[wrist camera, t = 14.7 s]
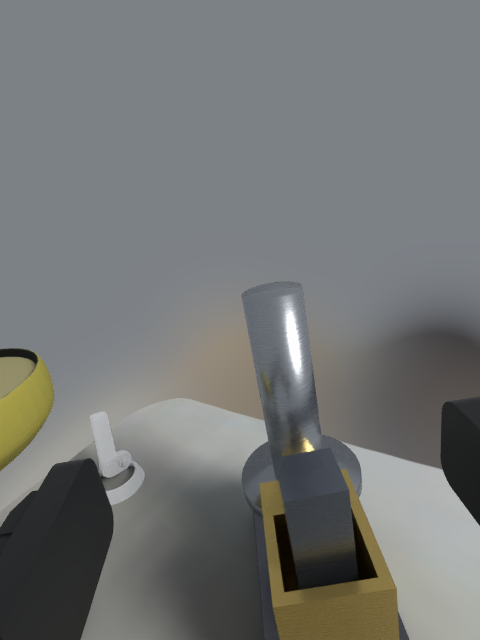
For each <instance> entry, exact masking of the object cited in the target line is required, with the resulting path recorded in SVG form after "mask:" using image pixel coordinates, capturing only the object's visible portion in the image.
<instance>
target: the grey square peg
mask: <svg viewBox="0 0 480 640" xmlns="http://www.w3.org/2000/svg"><path fill="white" fill-rule="evenodd" d="M274 459H275V464H276V470H277V475H278V481H279V486H280V492H281V497H282V503H283V508H284V514H285V519H286V525H287V530H288V536H289V541H290V547H291V552H292V558H293V563H294V569H295V574H296V580H297V585H298V590H303V589H309V588H316V587H322V586H328V585H335V584H341V583H347V582H354V581H359V578H358V569H357V559H356V550H355V540H354V531H353V521H352V512H351V502H350V493H349V488H348V486H347V484H346V482H345V479H344V477H343V475H342V472H341V470H340V468H339V466H338V463H337V461H336V459H335V456H334V454H333V452H332V450H331V448H325V449H320V450H315V451H309V452H304V453H299V454H293V455H288V456H282V457H277V458H274Z"/></svg>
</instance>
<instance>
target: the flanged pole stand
mask: <svg viewBox="0 0 480 640" xmlns="http://www.w3.org/2000/svg"><path fill="white" fill-rule="evenodd" d="M242 301H243V306H244V312H245V317H246V323H247V328H248V333H249V339H250V344H251V350H252V355H253V361H254V366H255V371H256V377H257V382H258V387H259V393H260V398H261V404H262V409H263V415H264V420H265V425H266V431H267V436H268V442H266V443H264V444H263V445H261V446H260V447H259V448H257V449H256V450H255V451H254V452H253V453H252V454H251V455H250V457H249V458H248V460H247V461H246V463H245V465H244V468H243V472H242V483H243V488H244V493H245V497H246V500H247V502H248V504H249V506H250V507H251V508H252V510H253V511H254V521H255V533H256V546H257V558H258V570H259V583H260V595H261V607H262V619H263V632H264V640H409V638H408V635H407V633H406V630H405V628H404V625H403V623H402V620H401V618H400V615H399V613H398V607H397V590H396V586H395V584H394V581H393V579H392V577H391V574H390V572H389V569H388V567H387V565H386V562H385V560H384V558H383V555H382V553H381V550H380V548H379V546H378V543H377V541H376V539H375V536H374V534H373V531H372V529H371V527H370V524H369V522H368V520H367V517H366V515H365V512H364V510H363V508H362V505H361V503H360V501H359V497H360V494H361V490H362V476H361V468H360V464H359V461H358V459H357V457H356V456H355V454H354V453H353V452H352V451H351V450H350V449H349V448H348V447H347V446H346V445H344V444H343V443H342V442H340V441H338V440H336V439H334V438H331V437H328V436H325V435H321V428H320V420H319V412H318V404H317V396H316V388H315V381H314V374H313V365H312V357H311V350H310V342H309V334H308V326H307V318H306V311H305V303H304V295H303V288H302V285H301V284H299V283H295V282H275V283H268V284H263V285H260V286H256V287H253V288H251V289H249V290H247V291H245V292H244V293H243V294H242ZM325 448H331V450H332V452H333V454H334V456H335V459H336V461H337V463H338V466H339V468H340V470H341V472H342V475H343V477H344V479H345V482H346V484H347V486H348V488H349V493H350V502H351V512H352V521H353V531H354V540H355V550H356V559H357V569H358V578H359V581H354V582H347V583H341V584H335V585H328V586H322V587H316V588H309V589H303V590H298V585H297V580H296V574H295V569H294V563H293V558H292V552H291V547H290V541H289V536H288V530H287V525H286V519H285V514H284V508H283V503H282V497H281V492H280V486H279V481H278V475H277V470H276V464H275V459H274V458H277V457H282V456H288V455H293V454H299V453H304V452H309V451H315V450H320V449H325Z"/></svg>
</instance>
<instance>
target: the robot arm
mask: <svg viewBox="0 0 480 640" xmlns="http://www.w3.org/2000/svg"><path fill="white" fill-rule="evenodd" d="M441 464H442V468H443V471H444V474H445V477H446V479H447V481H448V483H449V485H450V486H451V488H452V489H453V490H454V492H455V493H456V494H457V496H458V497H459V498H460V500H461V501H462V502H463V504H464V505H465V507H466V508H467V509H468V511H469V512H470V513H471V515H472V516H473V517H474V519H475V520H476V521H477V523H478V524H479V525H480V397H474V398H468V399H461V400H455V401H450V402H446V403H445V404H444V405H443V408H442V423H441ZM112 534H113V512H112V508H111V505H110V502H109V499H108V497H107V494H106V491H105V488H104V486H103V483H102V480H101V477H100V475H99V472H98V469H97V466H96V464H95V462H94V461H93V460H92V459H90V458H88V459H82V460H76V461H69V462H63V463H57V464H55V465H54V466H53V467H52V468H51V470H50V471H49V473H48V475H47V476H46V478H45V480H44V481H43V483H42V485H41V486H40V488H39V490H37V491H32V492H31V493H30V494H29V495H27V496H26V497H25V498H24V499H23V500H22V501H21V502H20V503H19V504H18V505H17V506H16V507H15V508H14V509H13V510H12V511H11V512H10V513H9V515H8V516H7V518H6V519H5V521H4V523H3V524H2V526H1V527H0V640H80V639H81V636H82V632H83V629H84V626H85V623H86V620H87V616H88V613H89V610H90V607H91V604H92V600H93V597H94V594H95V591H96V587H97V584H98V581H99V578H100V575H101V571H102V568H103V565H104V562H105V558H106V555H107V552H108V549H109V546H110V542H111V539H112Z"/></svg>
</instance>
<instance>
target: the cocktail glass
mask: <svg viewBox="0 0 480 640" xmlns="http://www.w3.org/2000/svg"><path fill="white" fill-rule="evenodd" d="M53 401H54V389H53V384H52V380H51V376H50V374H49V371H48V369H47V367H46V365H45V363H44V362H43V360H42V359H41V358H40V357H39V356H38V355H37V354H36V353H35V352H33V351H30V350H27V349H20V348H19V349H18V348H10V349H0V471H1V470H2V469H3V468H4V467H6V466H7V465H8V464H9V463H10V462H11V461H13V460H14V459H15V458H16V457H17V456H18V455H19V454H20V453H21V452H22V451H23V450H24V449H25V448H26V447H27V446H28V445H29V444H30V442H31V441H32V440H33V439H34V437H35V436H36V435H37V433H38V432H39V430H40V429H41V428H42V426H43V424H44V423H45V421H46V419H47V417H48V415H49V413H50V411H51V409H52V405H53Z"/></svg>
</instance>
